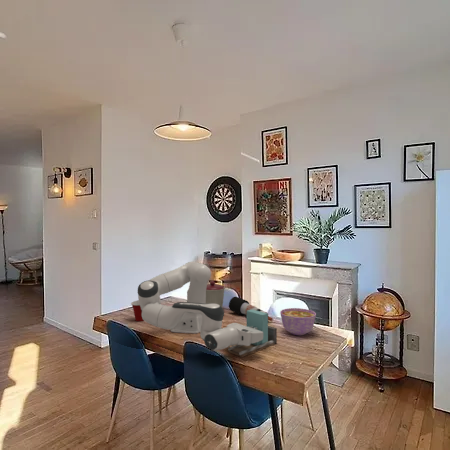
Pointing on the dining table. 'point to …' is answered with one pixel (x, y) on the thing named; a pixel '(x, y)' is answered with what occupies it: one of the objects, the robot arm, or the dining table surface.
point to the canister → (215, 293)
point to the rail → (245, 350)
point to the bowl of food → (298, 320)
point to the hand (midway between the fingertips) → (255, 328)
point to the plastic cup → (137, 311)
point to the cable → (243, 307)
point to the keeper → (258, 323)
